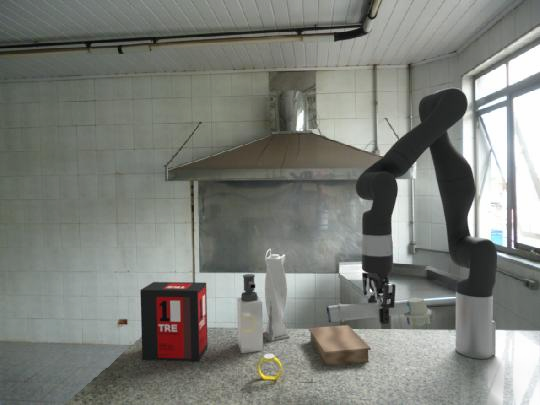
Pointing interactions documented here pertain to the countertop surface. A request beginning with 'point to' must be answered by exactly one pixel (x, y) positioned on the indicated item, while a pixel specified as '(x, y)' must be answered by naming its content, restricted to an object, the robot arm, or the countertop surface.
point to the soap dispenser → (249, 318)
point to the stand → (339, 345)
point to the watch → (269, 358)
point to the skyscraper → (275, 297)
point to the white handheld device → (411, 309)
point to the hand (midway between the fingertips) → (378, 318)
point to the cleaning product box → (174, 321)
